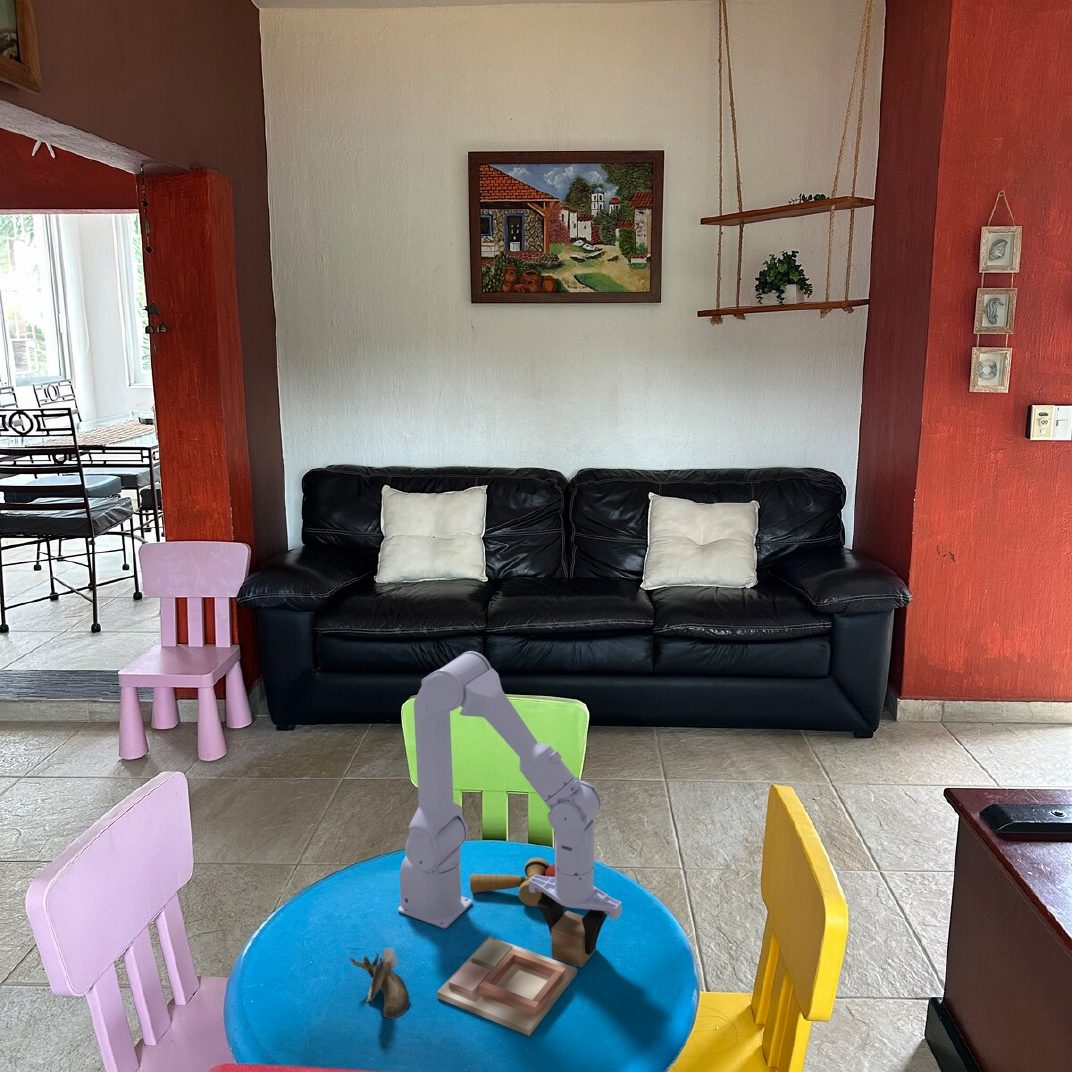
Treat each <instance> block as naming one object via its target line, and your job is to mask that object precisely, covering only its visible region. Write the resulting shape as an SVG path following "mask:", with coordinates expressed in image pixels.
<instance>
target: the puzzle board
mask: <svg viewBox="0 0 1072 1072" xmlns="http://www.w3.org/2000/svg"><path fill="white" fill-rule="evenodd" d="M577 969H578V967H576V966H573V965H571V964H568V963H565V962H562V961H560V960H557V959H554V958H550V957H548V956H545V955H542V954H539V953H536V952H534V951H531V950H529V949H525V948H523V947H520V946H518V945H515V944H512V943H509V942H506V941H504V940H501V939H498V938H495V937H493V936H490V935H489V936H488V938H486V939H485V940H484V941H483V942H482V943H481V945H479V946H478V947H477V949H476V950H475V951H474V952H473V953H472V954H471V955H470V956H469V957H468V958H467V959H466V961H465V962H464V963H462V964H461V966H460V967H458V969H457V970H456V971H455V972H454V973H453V974H452V975H451V976H450V978H448V979H447V981H446V982H445V983H444V984H443V985H441V987H440V988H439V989H438V990H437V992H436V995H437V996H436V998H437V999H439V1000H441V1001H443V1002H447V1003H449V1004H451V1005H454V1006H456V1007H458V1008H460V1009H463V1010H466V1011H468V1012H470V1013H473V1014H475V1015H477V1016H480V1017H482V1018H485V1019H487V1020H488V1021H489V1020H490V1021H493V1022H495V1023H497V1024H500V1025H502V1026H504V1027H507V1028H509V1029H512V1030H514V1031H516V1032H519V1033H521V1034H524V1035H525V1036H528V1037H530V1036H531V1034H533V1032H534V1030H535V1029H536V1028H537V1027H538V1025H539V1024H540V1022H541V1021H543V1019H544V1017H545V1016H546V1015H547V1013H548V1012H549V1011H550V1010H551V1008H552V1007H553V1006H554V1004H555V1003H556V1001H557V1000H558V999H559V998H560V996H561V995H562V993H564V991H565V989H567V987H568V986H569V985H570V984H571V982H572V981H573V980H574V978H575V977H576V976H577V973H578V972H577V971H578V970H577Z"/></svg>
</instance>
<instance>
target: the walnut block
mask: <svg viewBox="0 0 1072 1072" xmlns="http://www.w3.org/2000/svg"><path fill="white" fill-rule="evenodd" d="M584 916H585V915H581V914H579V913H575V912H572V911H570V910H566V911H564V912H563V916H562V917H561V918H560V919H559V920H558V922H557V923H556V924H555V925H554V926H553V927H552V929H551V934H550V936H551V937H550V938H551V948H550V949H551V951H550V952H551V953H550V954H551V958H552V957H553V958H552V959H555V958H556V959H555V960H557V959H559V960H558V961H560V960H561V961H560V962H563V961H564V962H563V963H565V964H568V963H570V964H569V965H571V964H574V965H576V966H575V967H577V966H578V967H577V968H579V967H580V968H579V969H582V966H583V967H584V965H585V964H586V963H587V961H588V960H589V959H590V958H591V956H592V955H593V954H594V952H595V951H596V950H597V947H596V948H595V949H596V950H595V949H594V950H595V951H593V952H592V953H593V954H592V953H591V955H588V954H586V952H585V931H584V926H583V923H582V918H583V917H584ZM588 958H589V959H588ZM585 962H586V963H585ZM574 965H573V966H574Z"/></svg>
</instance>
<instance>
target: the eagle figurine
mask: <svg viewBox="0 0 1072 1072" xmlns="http://www.w3.org/2000/svg"><path fill="white" fill-rule="evenodd" d="M349 960H350V962H351V963H352V964H353V965H354V966H356V967H359V968H361V969H363V970H365V971H366V972H367V973H368V975H369V977H370V978H371V983H370V986H369V987H370V988H369V991H368V994H367V999H366V1001H365V1002H366V1003H369V1002H372V1001H373V999H374V998H375V996H376V994H377V993H378V992H379V991H380V990H381V991H382V992H383V999H384V1003H383V1017H385V1018H387V1019H391V1020H396V1019H399V1018H400V1017H401V1016H403V1015H404V1012H406V1011H407V1009H408V1008H409V1005H410V996H409V992H408V989H407V987H406V984H405V981H404V980H403V978H401V976H400V975H399V974H397V972H394V971H393V970H392V969H394V968H396V967H397V965H398V958H397V954H396V951H395V950H394V948H392V947H385V948H384V949H383V951H382V957H380V956H379V952H376V955H375V957H374V960H373V961H372V964H371V961H370V959H369V958H368V956H367V955H365V956H364V958H363V962H361V961H359V960H356V959H354V958H352V957H350V958H349Z"/></svg>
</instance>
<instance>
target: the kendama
mask: <svg viewBox="0 0 1072 1072" xmlns="http://www.w3.org/2000/svg"><path fill="white" fill-rule="evenodd" d="M524 874H525V876H521V875H512V874H511V875H510V874H481V873H479V874H476V873H472V874H471V875H470V879H469V888H470V892H471V893H472V894H475V893H477V894H478V893H481V892H492V891H501V890H502V891H503V890H508V889H509V890H510V889H514V888H516V889H517V888H519V889H518V898H519V900H520V902H522V903H523V904H524V905H526V906H528V907H533V906H537V903H538V901H539V900H540V899H541V892H538V891H537V892H536V893H532V892H529V880H530V879H531V878H532V877H533V876H534V875H535V874H536V875H540V876H546V877H555V863H553V864H551V865H550V863H549V862H548V861H547V860H546V859H544V858H540V857H532V858H530V859H528V861H526V863H525V865H524Z"/></svg>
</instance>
